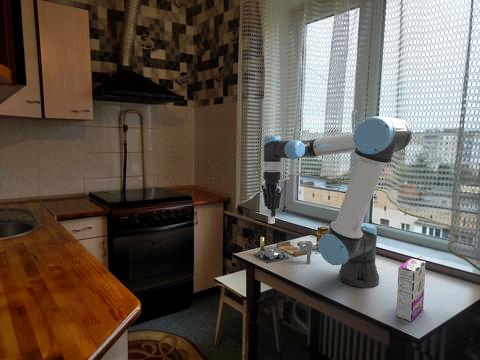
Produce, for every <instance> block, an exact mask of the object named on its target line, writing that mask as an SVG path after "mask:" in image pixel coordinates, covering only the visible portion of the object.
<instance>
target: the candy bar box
mask: <svg viewBox="0 0 480 360" xmlns="http://www.w3.org/2000/svg"><path fill="white" fill-rule="evenodd" d="M426 263H427V262H426V261H424V260H421V259H415V258H409V259H408V260H406V261H405V262H403V263H402V264H401V265H400V266H399V267H398V268H397V269H398V271H397V273H398V274H397V295H396V296H397V297H396V317H398V318H400V319H402V320H403V319H404V320H406V321H409V322H413V321H414V320H415V319H416V317H417V316H418V315H420V313H421V312H422V311H423V310H424V299H425V298H424V297H425V284H426V283H425V282H426V281H425V279H426V265H427V264H426Z"/></svg>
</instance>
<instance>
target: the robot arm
mask: <svg viewBox="0 0 480 360" xmlns="http://www.w3.org/2000/svg"><path fill="white" fill-rule="evenodd" d="M412 135H413V131H412V128H411V126H410V125H409V123H408V122H407V121H406V120H404V119H402V118H398V117H390V116H384V115H383V116H382V115H377V116H369V117H367V118H364V119H363V120H361V121H360V122H359V123H358V125H357V126H356V127H355V129H354V131H353V132H348V133H343V134H337V135H331V136H325V137H319V138H314V139H307V140H300V139H299V140H298V139H292V140H291V139H290V140H289V139H288V140H282V137H281V136H280V135H266V136H264V137H263V144H262V145H263V170H264V171H263V173H262V174H263V177H262V178H263V180H264V184H263V185H261V190H262V196H263V202H264V203H263V204H264V207H265V208H267V223H268V224H269V225H272V224H275V223H276V212H277V211H276V210H278V209H279V208H280V202H281V196H282V193H283V190H284V188H283V187H281V186H280V180H281V175H282V174H281V167H282V166H281V165H282V163H281V162H282V161H281V160H282V159H290V160H298V159H303V158H304V159H305V158H312V159H313V158H317V157H322V156H330V155H331V156H332V155H338V154H346V153H347V154H348V153H354V156H355V158H356V162H355V164H354V167H353V170H352V172H351V175H350V179H349V182H348V184H347V185H348V186H347V188H346V191H345V193H344V197H343V199H342V201H341V202H342V203H341V205H340V208H339V211H338V214H337V217H336V220H333V221H331V222H330V224H329V227H328V229H329V230H328V233H327V234H324V235H323V236H322V237H321V238H320V240H319V243H318V247H319V251H320V253H319V254H320V255H321V257H322V259H324V261H325V262H327V263H328V264H330V265H332V266H340V269H339V271H338V279H339V280H340V282H342V283H344V284H346V285H349V286H351V287H356V288H357V287H358V288H366V289H367V288H373V287H377V286H378V285H379V284H380V275H379V273H378V269H377V265H376V254H377V237H378V233H377V232H378V231H377V230H378V229H377V226H375V225H374V224H371V223H366V222H364V220H365V217H366V215H367V212H368V209H369V206H370V203H371V202H372V198H373V196H374V193H375V190H376V188H377V186H378V183H379V179H380V177H381V175H382V172H383V168H384V167H385V166H387V165H389V164H391V162H392V159H393V156H394V153H397V152H400V151H402V150H404V149H405V148H407V146H408V145H410V142H411V140H412V137H413V136H412Z"/></svg>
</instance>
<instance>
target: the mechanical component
mask: <svg viewBox="0 0 480 360" xmlns="http://www.w3.org/2000/svg"><path fill="white" fill-rule="evenodd" d="M318 243H319V242H317V244H313V241H310V240H303V241H302V240H299V241H298V242H297V243H296V245H297V247H298V248H299V249H300V250H301V251H306V254H307V255H306V264H307V265H311V256H312V254H313V253H312V252H316V251H318V250H319V247H318ZM316 247H317V248H316ZM314 248H315V249H314Z"/></svg>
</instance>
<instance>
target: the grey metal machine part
mask: <svg viewBox="0 0 480 360" xmlns="http://www.w3.org/2000/svg"><path fill="white" fill-rule="evenodd" d="M259 239H260V240H259V241H260V242H259V243H260V249H257V253H258V255H260V257H261V258H270V259H274V258H283V256H285V255H286V252H285V251H282V248H277V247H274V246H268V247H265V237H264V236H260V238H259Z"/></svg>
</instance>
